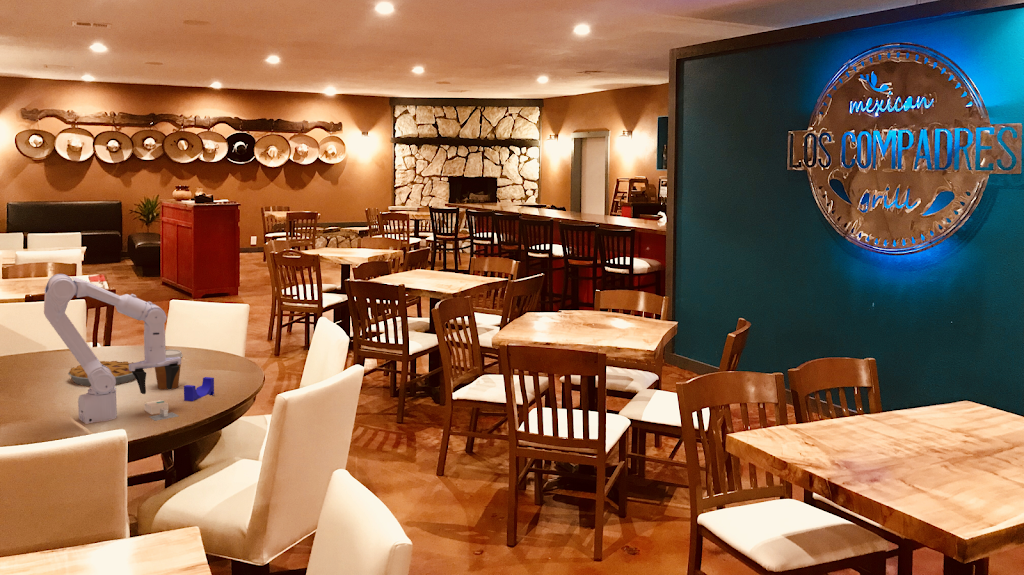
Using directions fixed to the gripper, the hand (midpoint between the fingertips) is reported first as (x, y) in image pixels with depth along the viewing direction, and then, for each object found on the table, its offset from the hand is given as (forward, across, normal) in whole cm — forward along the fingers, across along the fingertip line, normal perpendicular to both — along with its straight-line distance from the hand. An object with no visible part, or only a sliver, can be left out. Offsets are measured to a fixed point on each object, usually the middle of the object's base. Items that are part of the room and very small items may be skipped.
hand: (156, 391), depth 238 cm
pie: (+8, +3, +51) cm, 52 cm away
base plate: (+7, -1, -6) cm, 10 cm away
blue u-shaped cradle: (+8, +16, +9) cm, 20 cm away
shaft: (+6, -1, -6) cm, 9 cm away
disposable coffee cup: (+8, +15, +28) cm, 33 cm away
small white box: (+7, 0, 0) cm, 7 cm away
